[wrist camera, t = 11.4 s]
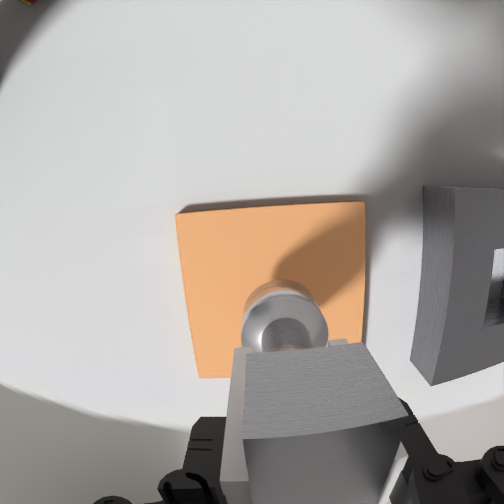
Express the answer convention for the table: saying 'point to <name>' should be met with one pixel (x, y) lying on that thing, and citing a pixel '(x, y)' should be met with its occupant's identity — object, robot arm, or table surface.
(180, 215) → the key mat
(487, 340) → the block
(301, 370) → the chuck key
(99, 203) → the table surface
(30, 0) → the hardcover book
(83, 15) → the table surface
